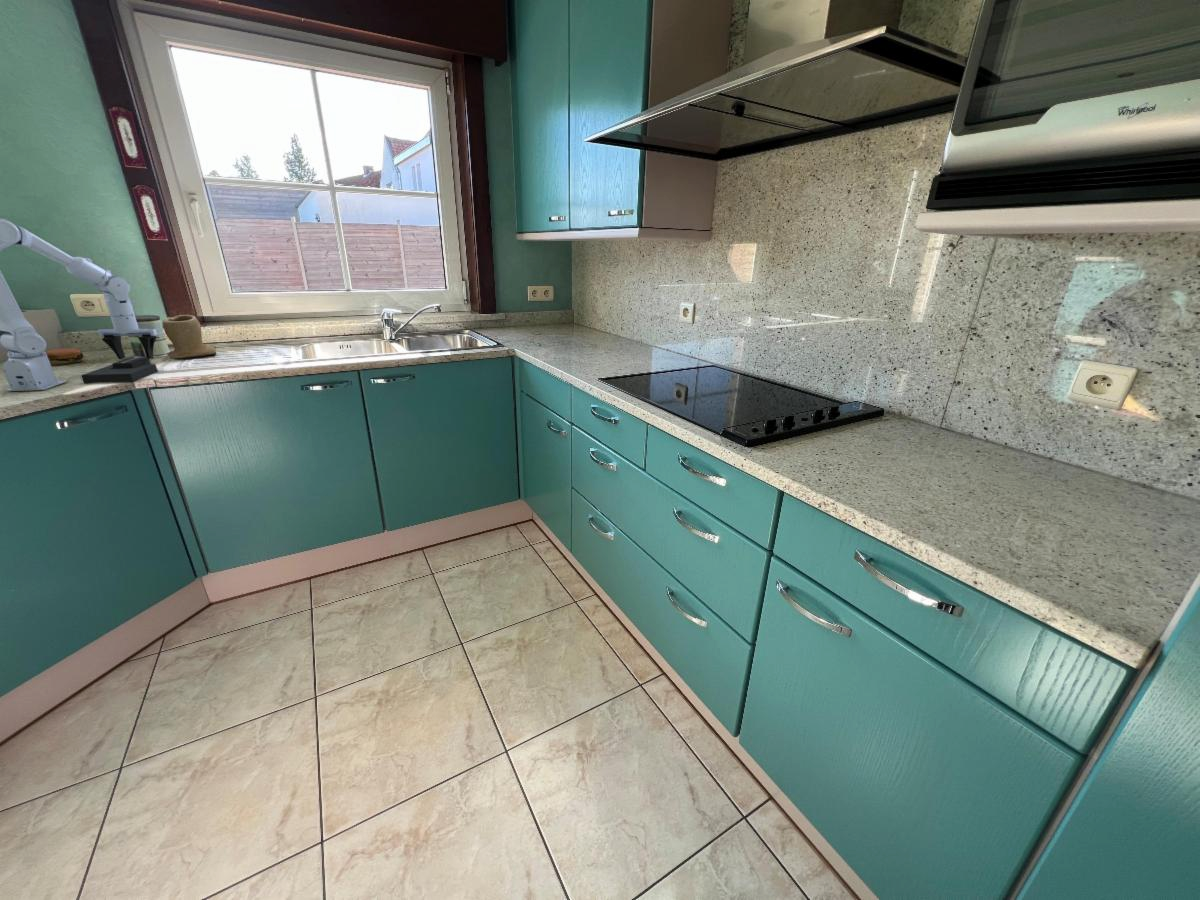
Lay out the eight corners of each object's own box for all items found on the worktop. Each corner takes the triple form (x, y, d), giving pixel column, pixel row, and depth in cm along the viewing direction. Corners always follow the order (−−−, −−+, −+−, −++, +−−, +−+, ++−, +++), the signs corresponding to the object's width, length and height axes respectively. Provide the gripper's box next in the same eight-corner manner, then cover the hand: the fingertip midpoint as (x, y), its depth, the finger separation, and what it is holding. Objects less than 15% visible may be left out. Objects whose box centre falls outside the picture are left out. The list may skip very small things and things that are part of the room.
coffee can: (128, 359, 175) (114, 318, 170) (143, 353, 184) (131, 315, 179) (163, 358, 178) (150, 318, 173) (176, 352, 187) (165, 315, 182)
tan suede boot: (173, 362, 172) (160, 318, 167) (165, 357, 180) (153, 315, 174) (225, 356, 183) (214, 315, 178) (215, 352, 190) (205, 312, 185)
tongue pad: (135, 375, 154) (131, 362, 152) (116, 376, 153) (111, 363, 151) (152, 368, 163) (148, 356, 161) (134, 369, 162) (130, 356, 160)
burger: (37, 366, 162) (31, 351, 160) (57, 360, 170) (51, 347, 169) (74, 365, 165) (69, 351, 163) (92, 359, 173) (87, 346, 171)
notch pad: (133, 381, 147) (130, 373, 146) (83, 383, 144) (80, 375, 143) (158, 371, 160) (155, 363, 159) (113, 372, 157) (110, 365, 156)
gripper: (156, 313, 160) (169, 355, 165) (102, 313, 156) (116, 356, 161) (144, 316, 153) (157, 359, 158) (87, 316, 149) (103, 360, 154)
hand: (136, 358), depth 159 cm, fingers open, 7 cm apart
